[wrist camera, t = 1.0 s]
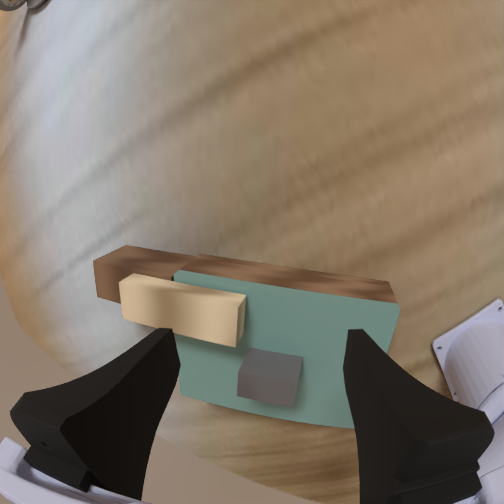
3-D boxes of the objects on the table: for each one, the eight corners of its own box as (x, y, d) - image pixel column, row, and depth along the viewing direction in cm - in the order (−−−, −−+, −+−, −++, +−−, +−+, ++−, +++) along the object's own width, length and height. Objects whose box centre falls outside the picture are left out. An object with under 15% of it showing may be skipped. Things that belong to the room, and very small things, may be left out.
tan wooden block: (246, 295, 21) (237, 308, 19) (243, 332, 22) (235, 347, 20) (133, 273, 23) (118, 282, 21) (136, 307, 23) (122, 318, 22)
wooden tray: (388, 281, 23) (400, 309, 18) (355, 392, 27) (356, 428, 22) (125, 242, 28) (92, 257, 24) (135, 345, 32) (110, 369, 27)
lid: (397, 303, 19) (409, 333, 16) (356, 421, 23) (356, 454, 19) (179, 269, 23) (152, 290, 19) (185, 387, 26) (166, 415, 23)
